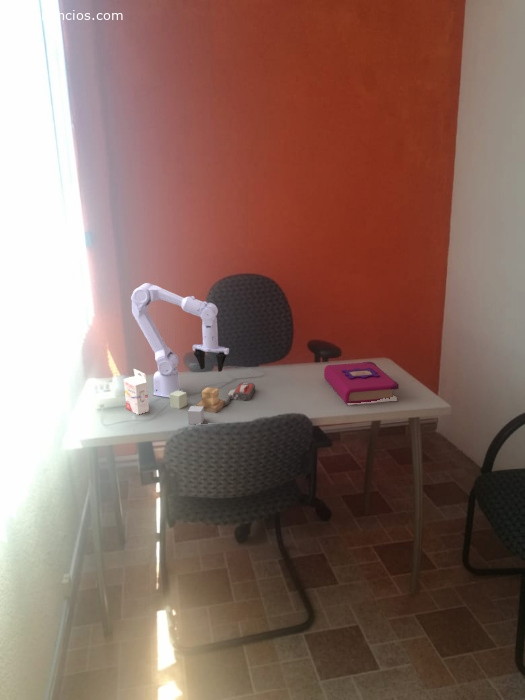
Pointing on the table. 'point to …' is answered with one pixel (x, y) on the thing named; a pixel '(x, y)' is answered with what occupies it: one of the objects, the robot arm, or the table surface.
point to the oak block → (210, 396)
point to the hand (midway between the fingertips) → (211, 369)
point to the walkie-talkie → (241, 392)
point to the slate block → (196, 414)
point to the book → (360, 382)
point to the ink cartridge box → (136, 393)
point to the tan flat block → (212, 408)
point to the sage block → (178, 399)
